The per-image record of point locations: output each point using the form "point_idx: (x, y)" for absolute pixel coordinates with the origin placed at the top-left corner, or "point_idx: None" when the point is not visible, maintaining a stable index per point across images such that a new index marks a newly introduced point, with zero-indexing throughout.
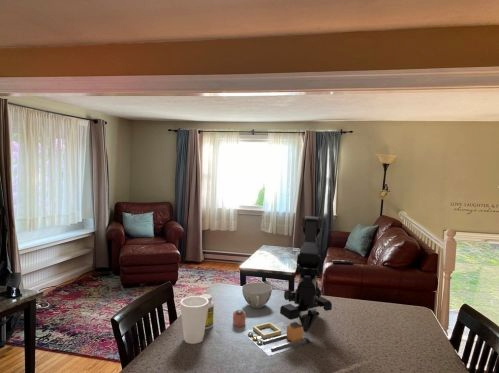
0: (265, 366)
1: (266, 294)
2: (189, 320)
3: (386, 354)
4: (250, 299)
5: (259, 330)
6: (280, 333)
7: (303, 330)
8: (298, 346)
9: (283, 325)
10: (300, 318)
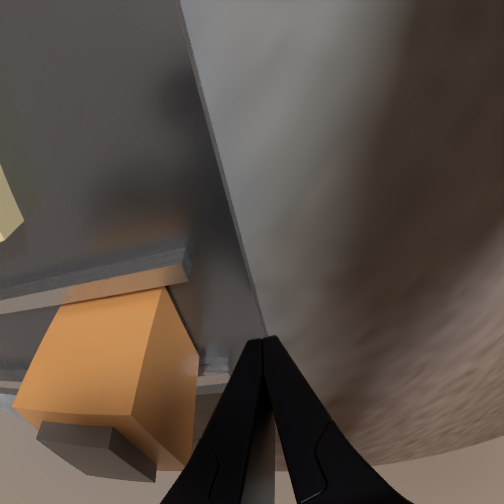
0: (2, 406)
1: None
2: None
3: (486, 415)
4: None
5: None
6: (12, 226)
7: (245, 345)
8: None
9: (94, 8)
10: (182, 502)
